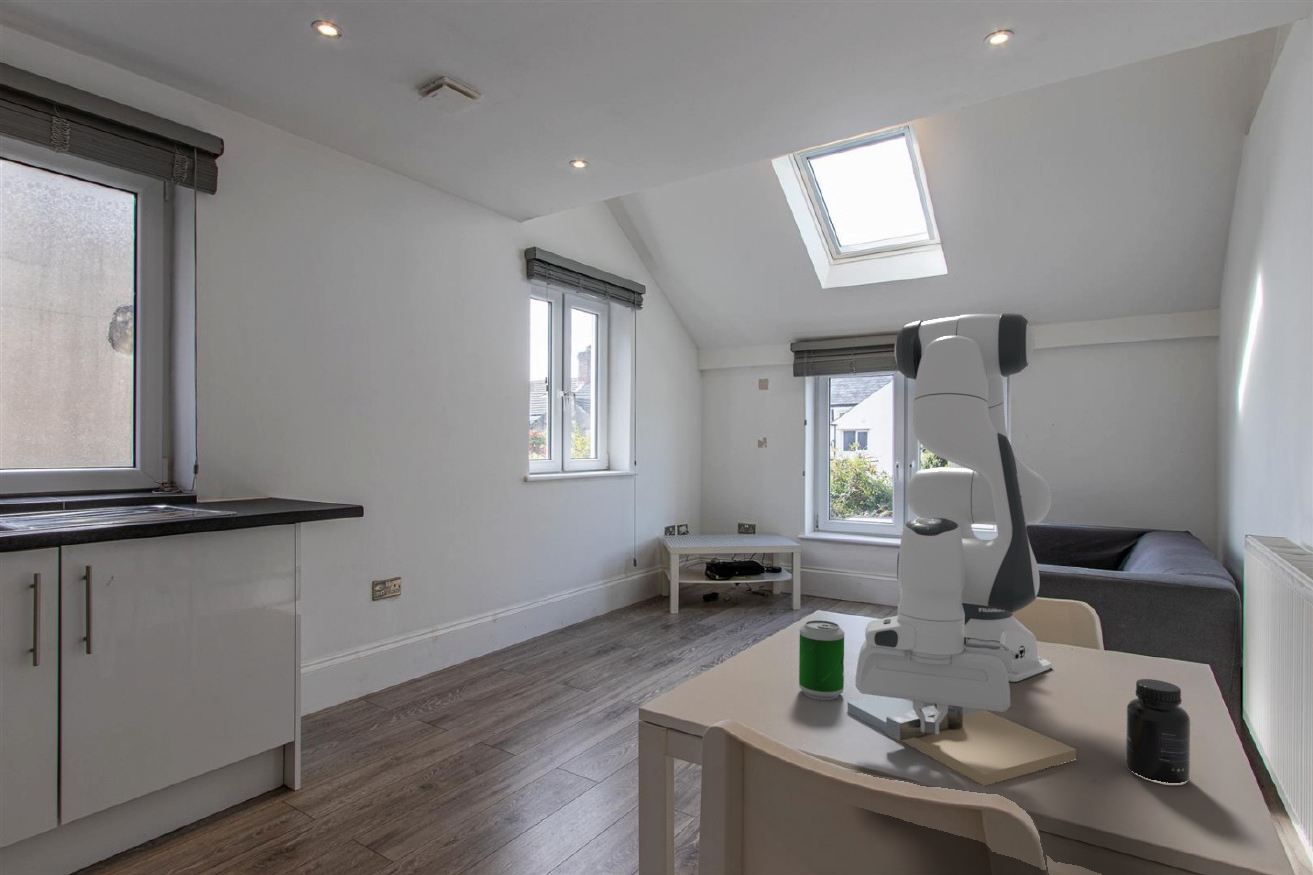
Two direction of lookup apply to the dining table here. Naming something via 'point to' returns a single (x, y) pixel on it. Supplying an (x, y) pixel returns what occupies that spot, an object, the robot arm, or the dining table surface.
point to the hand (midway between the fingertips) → (929, 731)
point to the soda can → (821, 660)
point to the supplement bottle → (1158, 733)
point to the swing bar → (909, 722)
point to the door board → (974, 742)
